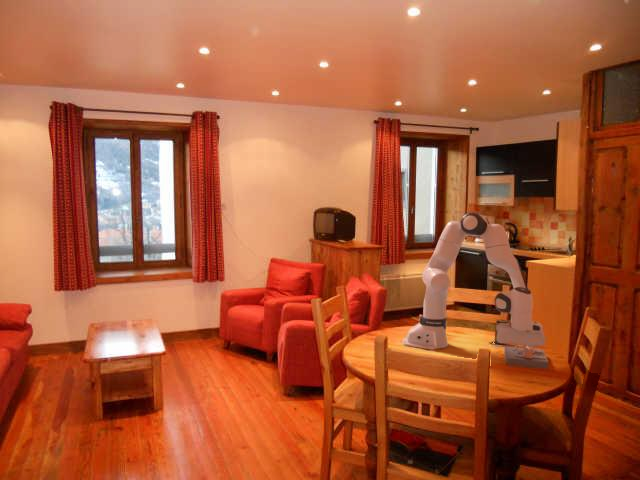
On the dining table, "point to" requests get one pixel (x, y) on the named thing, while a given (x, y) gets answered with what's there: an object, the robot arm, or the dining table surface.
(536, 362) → the console
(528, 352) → the fader near
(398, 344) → the dining table surface
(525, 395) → the dining table surface
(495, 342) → the condiment
